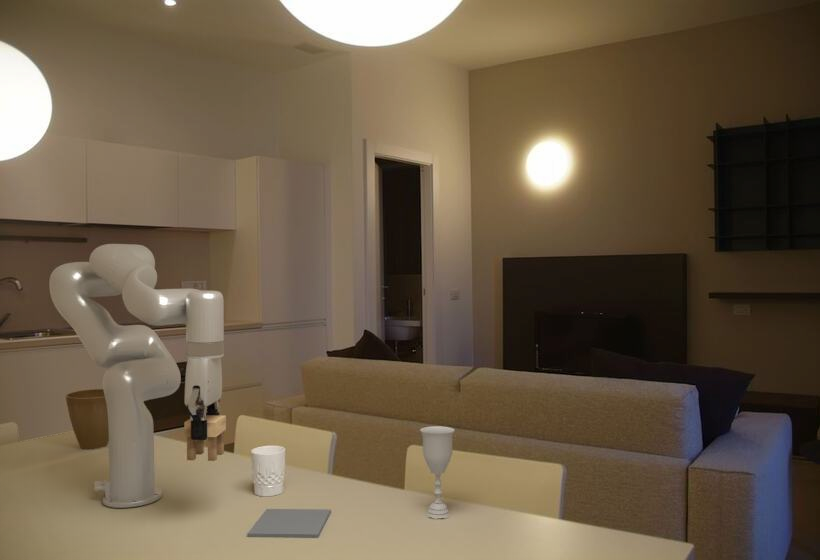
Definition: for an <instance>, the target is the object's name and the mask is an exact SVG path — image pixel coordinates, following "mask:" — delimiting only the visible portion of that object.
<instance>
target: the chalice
mask: <svg viewBox="0 0 820 560" xmlns="http://www.w3.org/2000/svg"><path fill="white" fill-rule="evenodd" d="M420 432H421V435H422V455H423V457H424V460H425V463H426V465H427V466H428V469H429V470H430V473H432V474H434V476H435V481H434V482H433V484H434V485H435V489H434V491H433V493H434V494H435V500H434V502H431V504H430V505H429V508H428V510H427V512H426V515H427V516H429V517H432V518H445V517H448V516H450V517H451V513H450V512H449V509H448V505H447V504H446V503H445V502H443V501H442V499H441V495H442V494H443V490H442V489H441V486H442V485H443V484H442V480H441V476H442V475H443V474H444V473H446V470H447V468H448V466H449V464H450V462H451V458H452V455H453V435H454V433H455V428H452V427H448V426H441V425H437V426H436V425H435V426H426V427H422V428H420ZM427 516H426V517H427Z"/></svg>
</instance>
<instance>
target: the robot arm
mask: <svg viewBox="0 0 820 560" xmlns="http://www.w3.org/2000/svg"><path fill="white" fill-rule="evenodd" d="M157 282H158V273H157V271H156V260H155V256H154V254H153V252H152V251H151V250H150V249H149V248H148V247H146V246H145V245H142V244H136V243H135V244H133V243H132V244H131V243H130V244H129V243H128V244H127V243H107V244H103V245H102V244H101V245H99V246H98V247H96V248H94V249H93V251H92V252H91V253H90V256H89V261H73V262H67V263H63V264H61V265H59V266H57V267H55V268H54V270H53V271H52V272H51V274H50V276H49V281H48V283H49V294H50V298H51V300H52V301H51V302H52V303H53V305H54V307H55V308H56V310H57V312H59V315H60V316H61V317H62V318H63V319H64V320H65V321H66V323H68V324H69V326H70V327H71V328H72V329H73V330H74V332H75V333H76V336H77V337H78V339H79V340H80V343H82V345H83V347H84V348H85V350H86V352H87V353H88V355H89V356H90V358H91V359H92V361H93V362H94V363H95V365H97V366H99V367H100V368H108V369H107V370H105V372H104V375H103V378H102V389H103V390H104V395H105V399H106V404H107V411H108V428H109V442H108V460H109V461H108V463H109V464H108V465H109V467H108V468H109V469H108V470H109V479H108V480H99V479H97V480H95V481H94V484H93V487H94V488H93V490H94V492H104V493H105V494H104V495H103V497H102V504H103V505H104V506H106V507H109V508H115V509H123V508H124V509H125V508H129V509H130V508H135V507H140V506H141V507H142V506H146V505H149V504H152V503H154V502H156V501H158V500H160V499H161V498H162V497H163V491H162V489H161V488H160V487H158V486H155V485H156V484H155V483H156V481H155V442H154V441H155V433H154V419H153V416H152V413H151V412H150V410H149V409H148V407H147V405H146V404H145V402H147V401H149V400H154V399H159V398H164V397H168V396H171V395H172V394H174V393H176V391H178V389H179V388H180V385H181V381H182V379H181V378H182V377H181V371H180V368H179V367H178V364H177V362H176V360H175V359H174V358H173V356H172V355H171V353H170V351H169V350H168V349H167V347H166V346H165V344H164V342H163V341H162V340H161V339H160V337H159V336H158V334H157V333H156V332H155V331H154V330H153V329H152V328H150V327H149V326H147V325H150V326H151V325H152V326H155V327H157V326H159V327H160V326H169V325H183V324H184V325H185V333H186V334H185V343H186V344H185V345H186V347H185V348H186V350H185V354H186V355H185V357H186V359H187V361H186V368H185V380H184V381H185V382H184V401H183V402H184V405H185V406H186V407H188V410H189V414H190V416H189V417H190V418H189V419H190V420H191V439H192V440H204V441H206V440H208V437H207V420H205V418H206V415H220V401H221V400H220V399H221V398H222V395H223V370H222V359H221V358H222V357H224V356H225V353H224V352H225V349H224V347H225V345H224V344H225V341H224V340H225V335H224V334H225V332H224V331H225V329H224V323H225V322H224V321H225V320H224V318H225V317H224V310H225V309H224V308H225V307H224V296H223V293H222V292H221V291H219V290H208V289H207V290H201V289H197V288H189V287H187V288H163V289H155V287H156V285H157ZM120 295H121V297H122V300H123V305H124V307H125V309H126V310H127V312H129V313H130V314H131V315H132V316H134V317H136V318H137V319H138V320H140V322H141V321H142V322H143V323H145V324H147V325H144V324H132V325H131V324H130V325H121V324H118V323H117V322H116V321H115V320H114V319H113V317H112V316H111V314H110V312H109V311H108V310H107V309H106V308H105V307H104V306H103V305H101V304H100V303H98V302H96V301H95V300H93V299H92V298H96V297H111V296H112V297H114V296H120ZM200 409H201V410H200Z"/></svg>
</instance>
